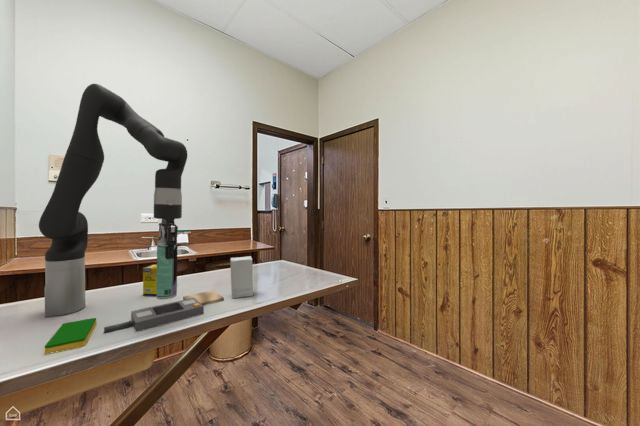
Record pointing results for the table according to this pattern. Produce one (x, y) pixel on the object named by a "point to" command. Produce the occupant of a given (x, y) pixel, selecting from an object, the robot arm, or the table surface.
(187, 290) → the table surface
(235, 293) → the skincare box
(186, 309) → the power strip
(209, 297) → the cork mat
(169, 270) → the spray can
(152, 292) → the supplement box
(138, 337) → the table surface
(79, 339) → the dish sponge
